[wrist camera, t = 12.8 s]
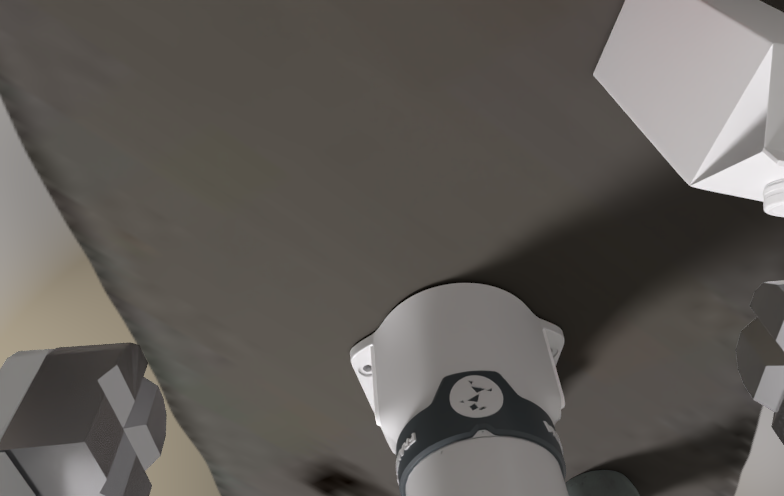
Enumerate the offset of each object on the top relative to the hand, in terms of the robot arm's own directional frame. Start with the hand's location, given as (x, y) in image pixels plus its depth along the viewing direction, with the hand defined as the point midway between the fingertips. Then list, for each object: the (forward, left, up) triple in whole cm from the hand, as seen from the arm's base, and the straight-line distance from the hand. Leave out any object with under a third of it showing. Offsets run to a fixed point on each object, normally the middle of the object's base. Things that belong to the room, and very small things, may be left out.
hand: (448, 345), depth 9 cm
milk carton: (-8, -18, -34) cm, 40 cm away
